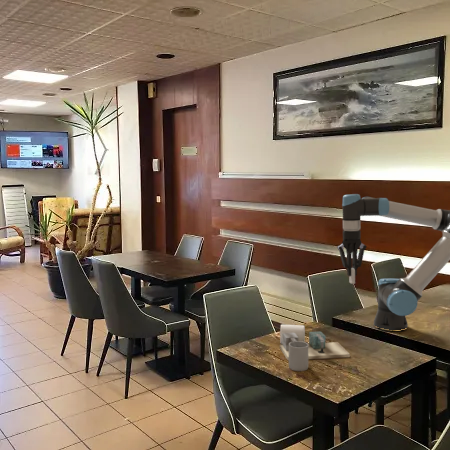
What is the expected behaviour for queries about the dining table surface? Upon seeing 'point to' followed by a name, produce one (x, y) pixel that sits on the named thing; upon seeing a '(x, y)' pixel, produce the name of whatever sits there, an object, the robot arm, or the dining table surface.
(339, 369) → the dining table surface
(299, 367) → the cup
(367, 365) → the dining table surface
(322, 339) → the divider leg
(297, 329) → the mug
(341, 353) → the board
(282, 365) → the dining table surface
